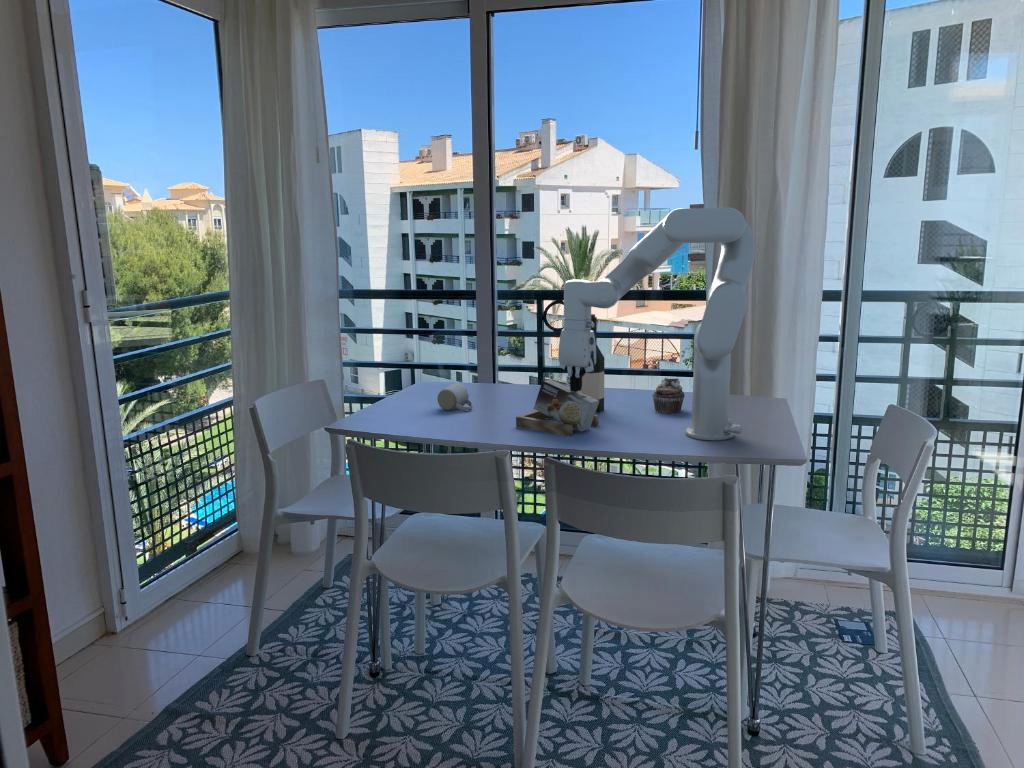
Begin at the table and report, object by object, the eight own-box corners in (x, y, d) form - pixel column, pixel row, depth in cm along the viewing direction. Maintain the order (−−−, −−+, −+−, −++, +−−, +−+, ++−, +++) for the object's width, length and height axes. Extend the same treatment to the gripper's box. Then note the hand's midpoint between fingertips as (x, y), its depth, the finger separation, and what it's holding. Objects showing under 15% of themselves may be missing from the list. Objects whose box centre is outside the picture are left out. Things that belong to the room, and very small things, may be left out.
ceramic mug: (436, 410, 236) (435, 386, 234) (448, 404, 243) (448, 381, 241) (465, 413, 231) (465, 389, 230) (477, 408, 239) (477, 384, 237)
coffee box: (600, 400, 208) (552, 377, 215) (591, 402, 203) (542, 379, 209) (589, 429, 210) (542, 406, 217) (580, 432, 205) (532, 408, 212)
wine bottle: (602, 413, 228) (603, 316, 222) (575, 412, 230) (575, 315, 224) (605, 407, 236) (605, 312, 230) (578, 406, 238) (579, 312, 232)
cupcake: (651, 406, 236) (652, 375, 234) (682, 407, 234) (683, 376, 232) (652, 414, 227) (653, 381, 225) (685, 414, 225) (686, 382, 223)
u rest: (598, 425, 214) (598, 415, 214) (569, 436, 203) (569, 426, 202) (546, 416, 226) (546, 406, 225) (516, 426, 214) (515, 416, 214)
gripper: (607, 326, 202) (605, 392, 206) (562, 321, 211) (561, 385, 215) (592, 329, 196) (591, 396, 200) (546, 324, 206) (546, 389, 209)
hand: (575, 390), depth 208 cm, fingers closed
